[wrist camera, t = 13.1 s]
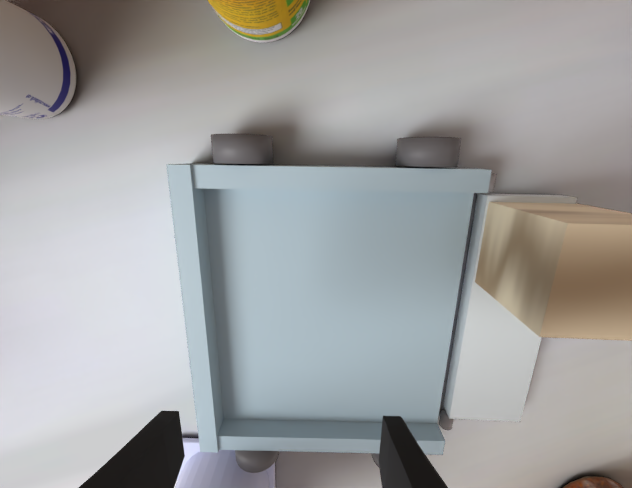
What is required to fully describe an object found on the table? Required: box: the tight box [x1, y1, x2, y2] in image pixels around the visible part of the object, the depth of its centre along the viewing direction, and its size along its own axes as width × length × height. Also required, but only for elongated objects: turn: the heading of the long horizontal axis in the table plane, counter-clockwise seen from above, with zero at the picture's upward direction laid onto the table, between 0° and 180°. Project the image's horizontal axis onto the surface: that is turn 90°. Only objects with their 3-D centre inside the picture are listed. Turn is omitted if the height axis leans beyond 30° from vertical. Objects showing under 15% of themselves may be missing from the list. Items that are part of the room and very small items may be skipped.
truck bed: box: [166, 134, 497, 473], centre depth 19 cm, size 22×18×3 cm
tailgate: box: [443, 193, 577, 422], centre depth 20 cm, size 16×2×5 cm
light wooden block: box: [475, 202, 632, 341], centre depth 15 cm, size 5×5×6 cm
